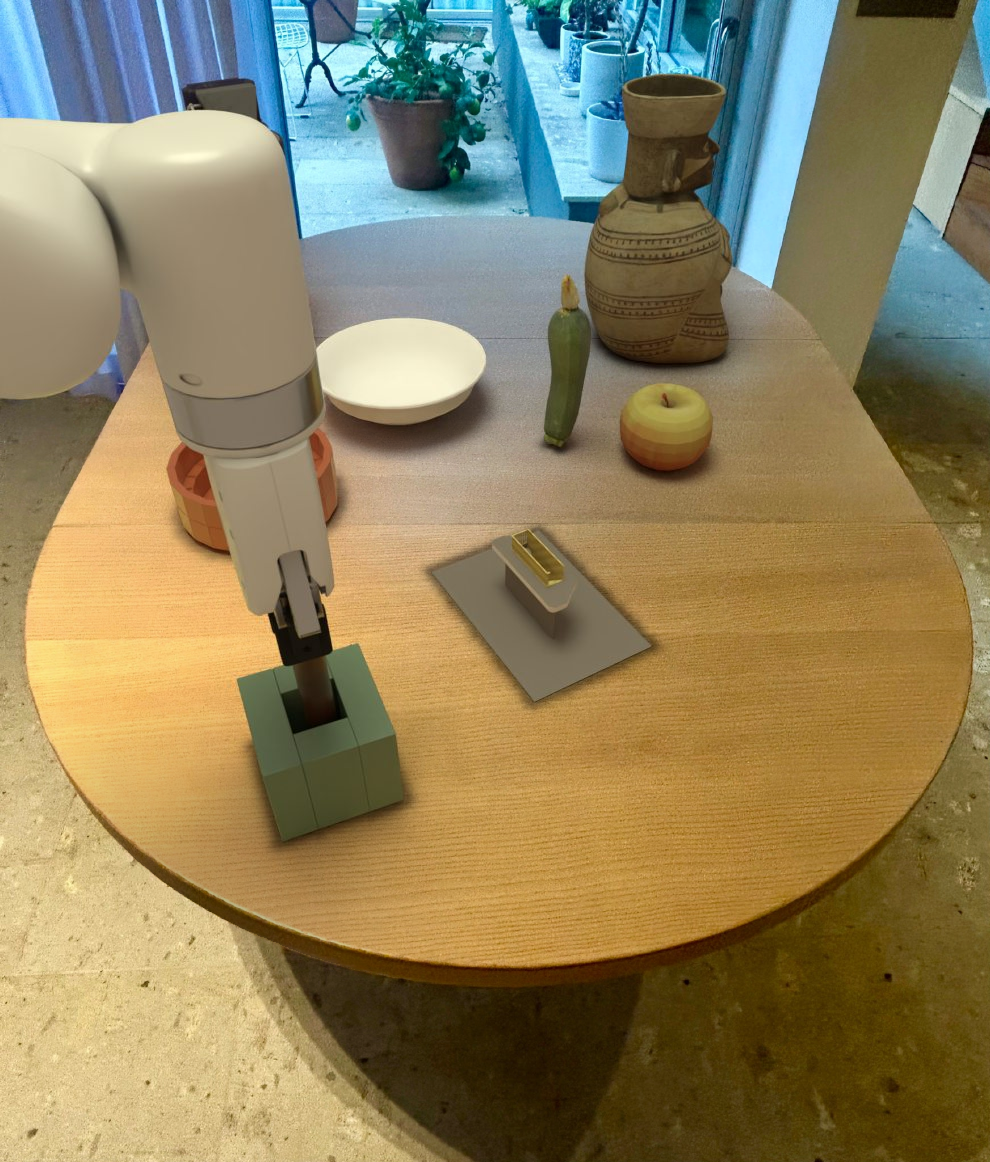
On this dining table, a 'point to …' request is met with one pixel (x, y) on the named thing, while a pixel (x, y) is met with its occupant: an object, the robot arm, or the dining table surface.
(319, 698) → the stick
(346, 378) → the bowl
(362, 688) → the stand
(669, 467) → the apple
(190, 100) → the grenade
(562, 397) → the vegetable
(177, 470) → the mixing bowl
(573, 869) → the dining table surface
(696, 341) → the ceramic vessel
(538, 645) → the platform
